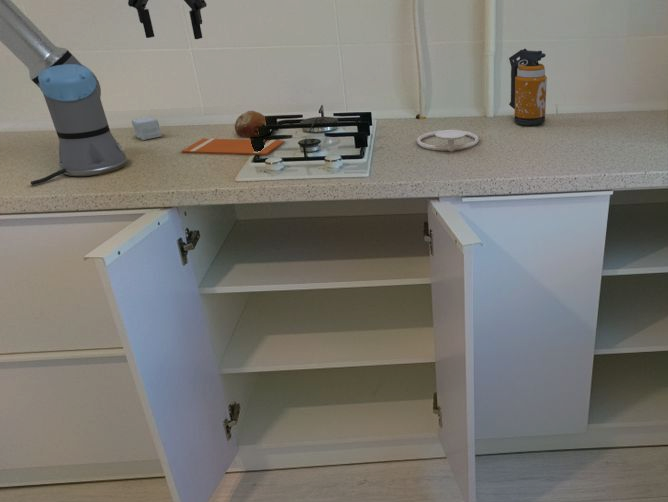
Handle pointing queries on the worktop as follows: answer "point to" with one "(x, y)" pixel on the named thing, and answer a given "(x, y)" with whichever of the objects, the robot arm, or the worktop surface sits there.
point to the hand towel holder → (449, 136)
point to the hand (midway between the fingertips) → (174, 38)
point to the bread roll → (249, 124)
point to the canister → (528, 87)
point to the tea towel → (231, 147)
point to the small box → (146, 128)
